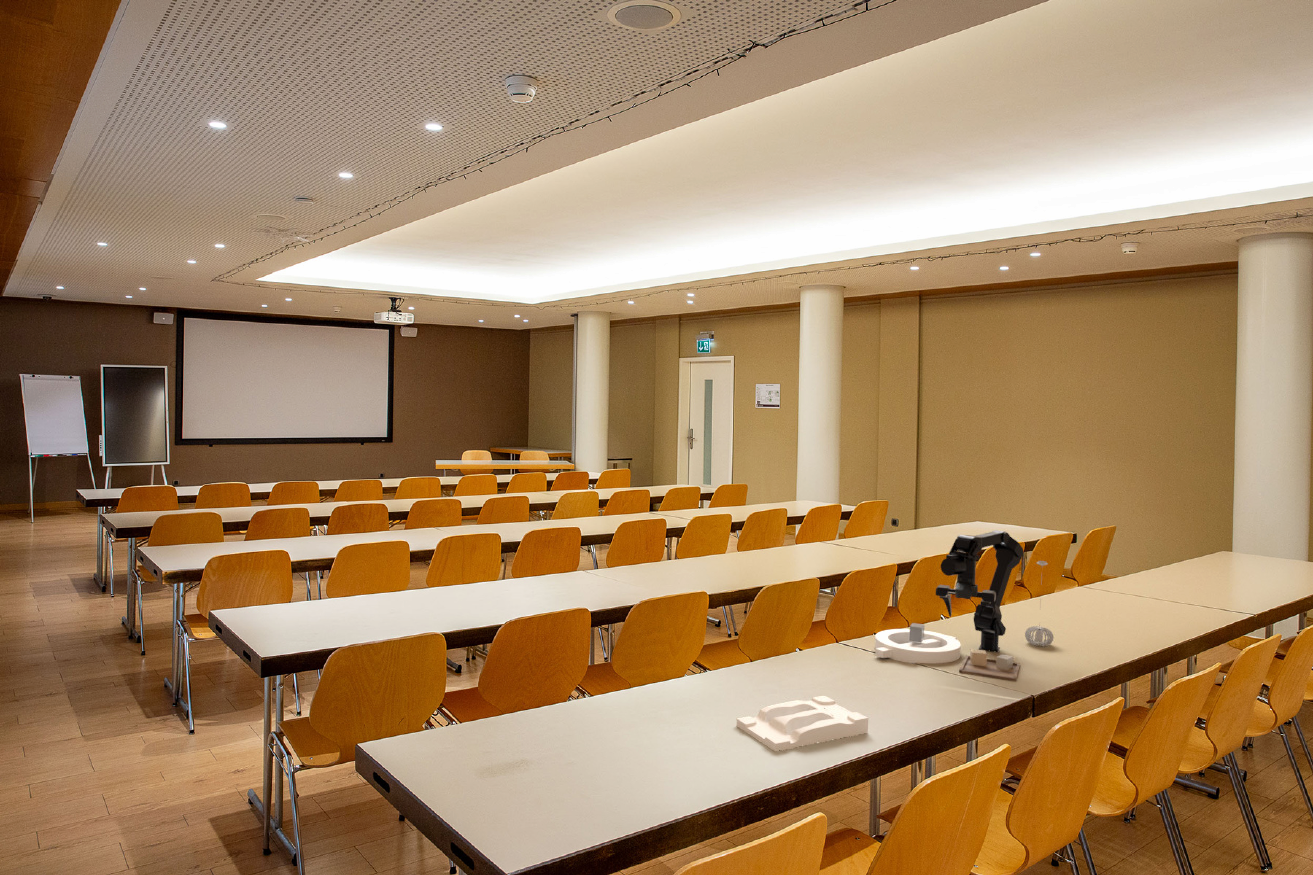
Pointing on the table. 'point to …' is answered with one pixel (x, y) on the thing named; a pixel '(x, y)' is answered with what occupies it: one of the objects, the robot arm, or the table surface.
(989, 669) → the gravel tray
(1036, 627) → the pendant light
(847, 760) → the table surface
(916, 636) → the grey cube block
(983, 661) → the tan cube
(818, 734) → the mold
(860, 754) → the table surface
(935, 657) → the ring with crossbar
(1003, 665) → the beige cube
